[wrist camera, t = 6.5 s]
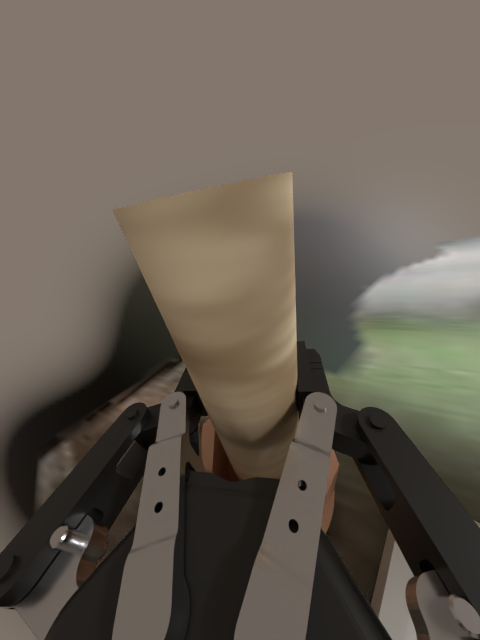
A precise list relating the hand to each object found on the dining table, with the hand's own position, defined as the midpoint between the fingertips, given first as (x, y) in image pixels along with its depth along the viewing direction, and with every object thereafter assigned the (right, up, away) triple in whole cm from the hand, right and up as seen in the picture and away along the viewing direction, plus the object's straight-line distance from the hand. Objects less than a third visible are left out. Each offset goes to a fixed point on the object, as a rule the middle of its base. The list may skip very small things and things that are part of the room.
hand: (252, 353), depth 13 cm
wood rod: (+2, -10, +4) cm, 11 cm away
